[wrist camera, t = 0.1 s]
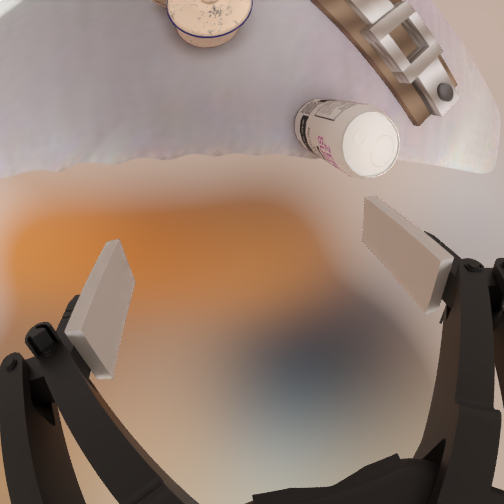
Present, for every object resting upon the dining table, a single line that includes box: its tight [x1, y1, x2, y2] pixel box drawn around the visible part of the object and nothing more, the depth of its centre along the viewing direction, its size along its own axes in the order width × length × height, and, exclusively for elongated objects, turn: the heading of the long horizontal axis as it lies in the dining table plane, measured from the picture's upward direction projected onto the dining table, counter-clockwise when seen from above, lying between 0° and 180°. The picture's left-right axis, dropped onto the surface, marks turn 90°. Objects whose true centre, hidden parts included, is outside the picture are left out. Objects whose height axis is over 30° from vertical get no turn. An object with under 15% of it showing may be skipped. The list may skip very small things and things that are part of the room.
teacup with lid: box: [152, 0, 253, 47], centre depth 24 cm, size 12×9×12 cm
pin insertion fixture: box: [311, 0, 460, 126], centre depth 31 cm, size 26×13×6 cm, turn 47°
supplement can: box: [294, 99, 400, 179], centre depth 33 cm, size 8×8×15 cm
